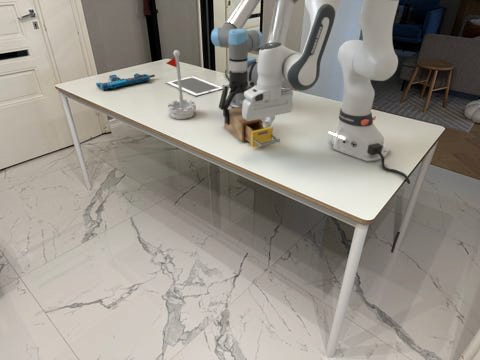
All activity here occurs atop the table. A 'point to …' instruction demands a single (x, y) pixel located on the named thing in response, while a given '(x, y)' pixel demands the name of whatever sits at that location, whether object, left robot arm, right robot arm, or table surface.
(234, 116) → the wooden drawer cabinet
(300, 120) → the table surface
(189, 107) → the flag stand
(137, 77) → the submachine gun
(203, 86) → the tablet
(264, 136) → the drawer
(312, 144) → the table surface
